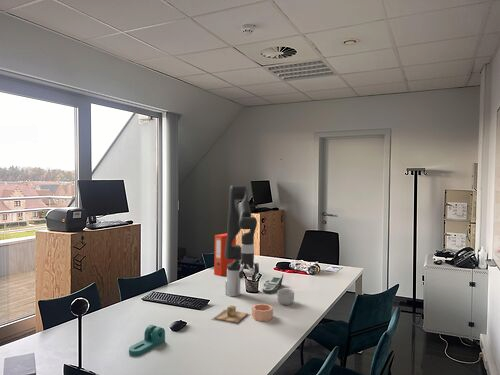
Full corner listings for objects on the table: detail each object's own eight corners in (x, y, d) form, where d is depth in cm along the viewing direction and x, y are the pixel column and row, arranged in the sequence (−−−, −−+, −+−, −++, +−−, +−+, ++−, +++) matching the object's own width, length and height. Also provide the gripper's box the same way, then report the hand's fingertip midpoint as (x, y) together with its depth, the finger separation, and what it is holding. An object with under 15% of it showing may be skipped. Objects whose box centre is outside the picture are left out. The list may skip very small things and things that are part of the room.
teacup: (293, 307, 226) (293, 294, 226) (275, 305, 228) (275, 292, 228) (295, 299, 240) (295, 287, 240) (278, 298, 242) (278, 286, 242)
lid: (214, 319, 205) (214, 308, 205) (226, 310, 218) (226, 301, 217) (237, 323, 199) (237, 312, 199) (247, 314, 212) (247, 304, 212)
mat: (210, 320, 204) (210, 319, 204) (225, 310, 220) (225, 309, 220) (238, 325, 197) (238, 325, 197) (251, 314, 213) (251, 314, 213)
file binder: (235, 272, 307) (235, 233, 306) (221, 276, 293) (221, 236, 292) (228, 270, 312) (228, 232, 310) (214, 274, 298) (214, 235, 297)
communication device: (257, 293, 254) (257, 280, 253) (268, 283, 276) (268, 272, 275) (273, 295, 249) (274, 282, 249) (283, 285, 271) (284, 273, 271)
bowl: (249, 319, 206) (249, 309, 205) (257, 313, 216) (257, 303, 215) (267, 323, 201) (268, 312, 201) (274, 316, 211) (274, 305, 211)
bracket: (154, 338, 181) (154, 322, 181) (165, 341, 178) (165, 325, 177) (125, 353, 166) (125, 336, 165) (136, 357, 162) (136, 340, 162)
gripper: (233, 251, 212) (233, 279, 213) (254, 254, 205) (254, 283, 205) (241, 249, 219) (240, 276, 219) (261, 252, 211) (261, 280, 211)
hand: (247, 279), depth 212 cm, fingers open, 8 cm apart
